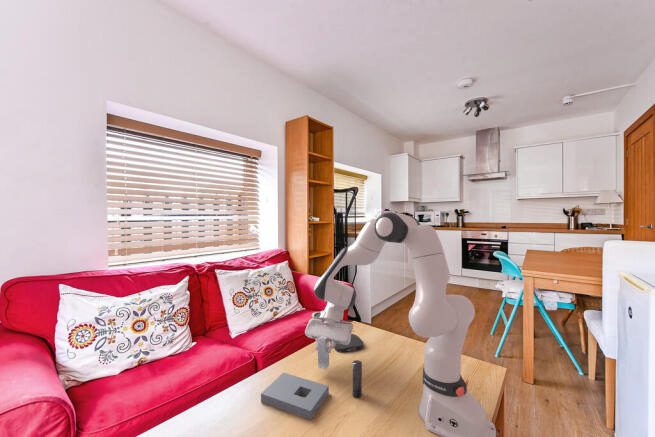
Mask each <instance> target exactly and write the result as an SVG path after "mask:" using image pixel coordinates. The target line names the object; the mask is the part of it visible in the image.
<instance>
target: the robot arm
mask: <svg viewBox="0 0 655 437" xmlns="http://www.w3.org/2000/svg"><path fill="white" fill-rule="evenodd" d="M386 243H395V244H404V245H406V246H407V248H408V252H409V254H410V255H409V256H410V259H411V263H412V268H413V272H414V278H415V295H414V297H415V298H414V302H413V305H412V307H411V308H410V309H409V312H408V323H409V325H410V328H411V329H412V331H413V332H414V333H415V334H416V335H418V336H419V337H421V338H428V339H427V341H426V343H425V345H424V350H423V351H424V352H423V353H424V354H423V355H424V357H423V359H424V363H423V365H424V367H423V369H422V384H423V388H422V393H421V400H420V403H419V405H418V413H419V416H420V417H421V418H422V420H423V421H424V425H425V428H426V430H427V431H429V432H430V433H434V434H436V435H438V436H440V437H497V429H496V426H495V424H494V423H493V422H492V421H491V420H490V419H488V415H487V412H486V409H485V407H484V405H483V404H481V403H480V401H479V400H478V399H476V397H475V396H473V394H472V393H471V392H470V391H469V390H468V386H469V379H466V380H464V379H463V377H462V374H461V371H462V370H461V368H462V367H461V366H462V365H461V364H462V351H463V348H464V347H463V346H464V343H465V341H466V340H465V339H466V338H467V337H466V336H467V333H468V330H469V326H470V325H471V324H472V322H473V320H474V319H475V316H476V309H475V306H474V304H473V302H472V301H471V300H470V299H469V298H468V297H467V296H465V295H461V294H447V285H448V283H449V281H450V278H451V273H450V269H449V265H448V261H447V257H446V254H445V251H444V250H445V249H444V247H443V245H442V241H441V239H440V237H439V235H438V233H437V231H436V229H435V228H434V227H433V226H432V225H429V224H421V223H420V222H419V220H418V219H417V218H416V217H414V216H412V215H407V214H404V213H400V212H390V211H389V212H385V213H381V214H380V215H379V216H378V217H376V218H371V219H369V220H368V221H366V223H365V224H364V226H363V227H362V228H361V230H360V231H359V233H358V235H357V237H356V239H355V241H354V242H353V243H352V244H351V245H349V246H346V247H343V248H341V250H340V251H339V252H338V254H337V255H336V256H335V257H334V259H333V260H332V261H331V263H330V264H329V266H328V267H327V268H326V269H325V271H324V272H323V274H322V275H320V277H319V278H318V279H317V280H316V282H315V285H314V287H313V293H314V295H315V297H316V298H317V300H321V301H324V302H327V303H326V306H325V308H324V310H321V311H315V312H313V313H312V314H311V317H312V318H310V319H309V320H308V323H307V325H306V327H305V330H304V334H305V336H307V338H309V339H314V340H315V345H316V346H315V350H316V351H318V338H319V337H320V336H321V335H323V336H328V337H329V343H330V342H331V343H330V344H329V347H327V349H326V352H327V353H329V354H331V352H332V349H334V348H333V347H334V346H335V345H336V343H339V344H344V345H348V344H349V343H350V340H351V334H352V332H353V329H354V324H353V323H352V322H351V321H346V320H343V319H344V311H345V310H349V309H351V308H353V307H354V305H355V303H356V299H357V292H356V290H355V288H354V287H352V286H350V285H348V284H346V283H342V282H340V281H338V280H336V279H334V278H335V276H336V275H337V274H338V272H339V271H340V269H341V268H343V267H345V266H368V265H371V264H373V263H374V262H375V261H376V260H377V259H378V257H379V256H380V254H381V252H382V251H383V249H384V248H383V247H384V246H385V245H386Z"/></svg>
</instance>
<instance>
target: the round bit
mask: <svg viewBox="0 0 655 437" xmlns="http://www.w3.org/2000/svg"><path fill="white" fill-rule="evenodd" d="M362 396H363V362H362V361H361V360H359V359H356V360H353V361H352V397H353V398H355V399H360V398H362Z"/></svg>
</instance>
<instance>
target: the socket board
mask: <svg viewBox="0 0 655 437" xmlns="http://www.w3.org/2000/svg"><path fill="white" fill-rule="evenodd" d="M329 386H330V385H327V384H324V383H320V382H316V381H314V380H310V379H307V378H303V377H301V376H297V375H294V374H290V373H286V372H282V373H281V374H280V375H279V376H278V377H277V378H276V379H275V380H274V381H273V382H271V383H270V384H269V386H267V387H266V388H265V389H264V390H263V391H262V392H260V402H261V403H263V404H266V405H269V406H271V407H273V408H276V407H277V409H279V410H281V411H285V412H286V413H287V412H288V413H290V414H293V415H295V416H299V417H302V418H303V419H307V420H310V421H311V420H312V418H313V417H314V416H315V414H316V413H317V411H318V410H319V409H320V407H321V406H322V404H323V403H324V401H326V399H327V397H328V396H329V394H330V387H329ZM300 395H301V396H300ZM303 396H305V397H303Z"/></svg>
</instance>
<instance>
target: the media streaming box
mask: <svg viewBox="0 0 655 437" xmlns="http://www.w3.org/2000/svg"><path fill="white" fill-rule="evenodd" d="M329 344H331V342H329ZM332 349H334V351H336V352H337V353H341V354H342V353H344V354H345V353H351V352H356V351H361V350H363V349H364V342H363V340H362V339H361V338H360V337H359V336H358V335H357V334H355V333H351V340H350V343H349V344H348V345H344V344H339V343H336V345H335V346H334V347H333V348H332Z"/></svg>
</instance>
